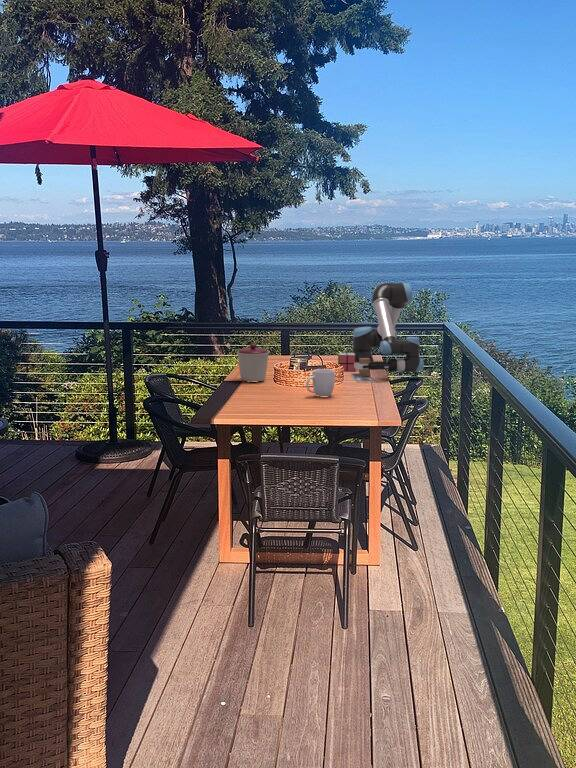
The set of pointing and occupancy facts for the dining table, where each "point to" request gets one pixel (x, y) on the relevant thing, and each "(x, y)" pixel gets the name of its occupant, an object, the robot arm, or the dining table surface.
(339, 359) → the puzzle cube
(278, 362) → the dining table surface
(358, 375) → the ink pad
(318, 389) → the mug
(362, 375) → the stamp
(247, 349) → the canister
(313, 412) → the dining table surface
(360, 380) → the print board
